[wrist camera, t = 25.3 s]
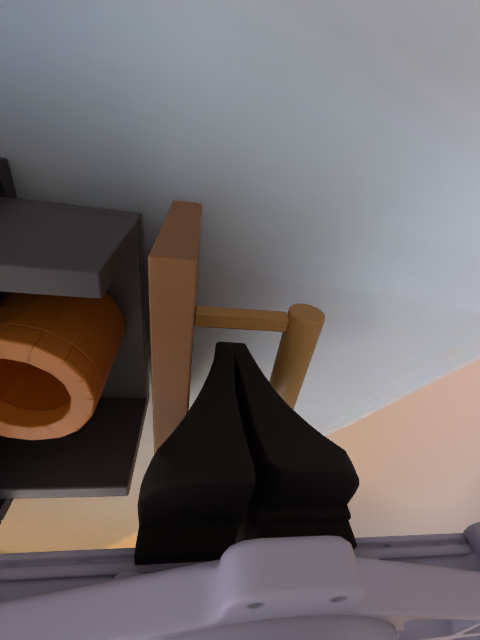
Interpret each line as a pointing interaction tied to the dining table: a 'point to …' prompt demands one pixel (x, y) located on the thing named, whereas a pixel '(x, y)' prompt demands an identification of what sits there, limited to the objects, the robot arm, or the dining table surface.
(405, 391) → the dining table surface
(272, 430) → the robot arm
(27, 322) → the jar
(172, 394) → the drawer
